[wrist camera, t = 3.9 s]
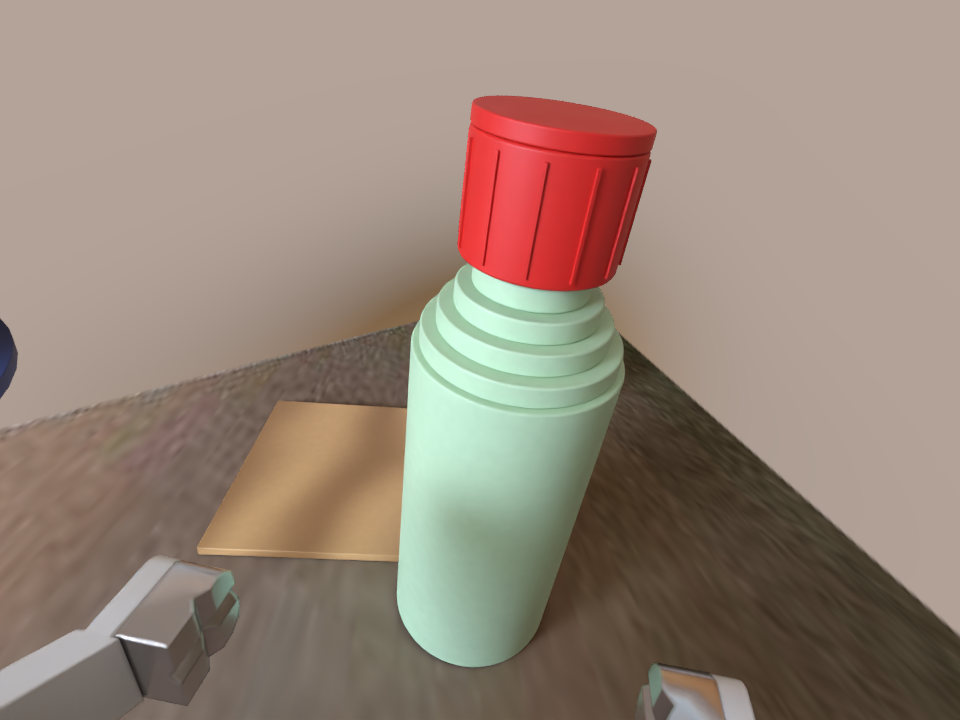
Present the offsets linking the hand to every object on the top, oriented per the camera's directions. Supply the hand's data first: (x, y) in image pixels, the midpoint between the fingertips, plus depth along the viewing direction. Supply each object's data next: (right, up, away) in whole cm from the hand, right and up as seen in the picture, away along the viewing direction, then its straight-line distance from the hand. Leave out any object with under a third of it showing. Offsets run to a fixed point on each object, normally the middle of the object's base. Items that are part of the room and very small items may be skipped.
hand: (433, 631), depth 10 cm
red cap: (+2, +8, +3) cm, 9 cm away
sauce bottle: (+1, -4, +11) cm, 12 cm away
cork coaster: (-6, -1, +17) cm, 18 cm away
